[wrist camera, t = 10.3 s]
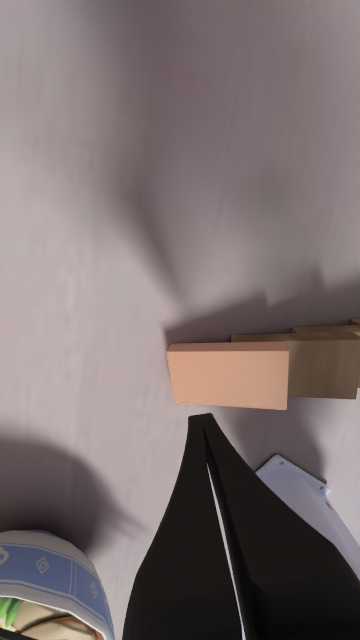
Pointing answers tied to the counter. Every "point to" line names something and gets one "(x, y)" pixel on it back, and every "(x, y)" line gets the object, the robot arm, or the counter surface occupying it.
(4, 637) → the ramen bowl
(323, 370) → the domino
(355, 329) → the domino
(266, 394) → the orange tan rectangular block
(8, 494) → the counter surface
